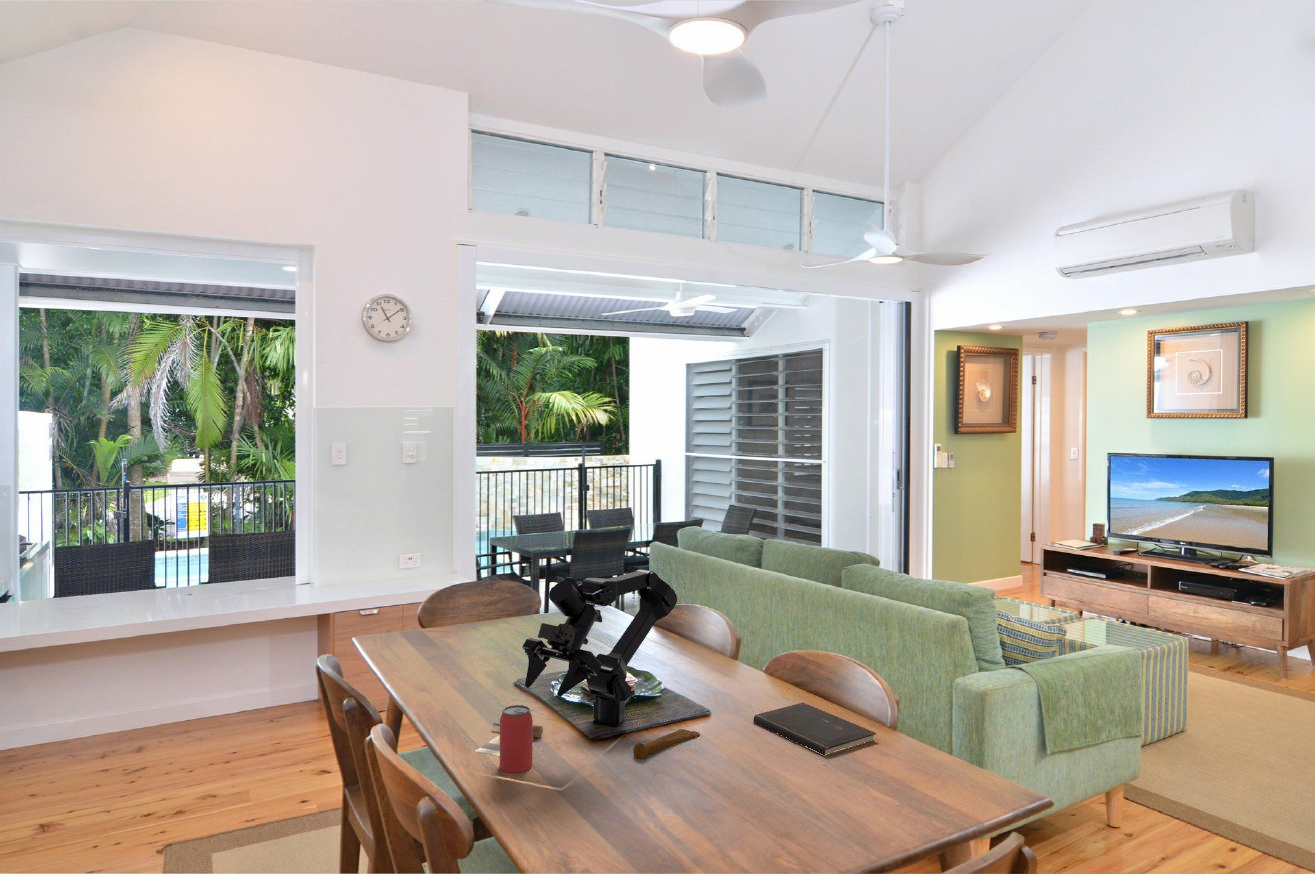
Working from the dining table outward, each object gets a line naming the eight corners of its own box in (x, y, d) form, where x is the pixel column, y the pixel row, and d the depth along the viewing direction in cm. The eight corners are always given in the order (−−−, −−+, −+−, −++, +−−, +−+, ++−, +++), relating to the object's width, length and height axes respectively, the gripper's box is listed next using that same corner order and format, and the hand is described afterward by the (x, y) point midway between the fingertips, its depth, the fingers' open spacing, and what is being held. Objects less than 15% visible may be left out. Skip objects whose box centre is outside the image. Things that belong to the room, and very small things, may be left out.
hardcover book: (803, 711, 201) (803, 702, 201) (875, 742, 182) (876, 732, 182) (753, 724, 192) (753, 715, 192) (824, 759, 173) (824, 748, 173)
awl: (542, 735, 183) (542, 724, 183) (537, 739, 180) (537, 728, 180) (496, 727, 187) (496, 716, 187) (490, 731, 185) (490, 720, 185)
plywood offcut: (542, 733, 185) (542, 731, 185) (507, 759, 171) (507, 757, 171) (512, 728, 188) (512, 726, 188) (474, 753, 174) (474, 751, 174)
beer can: (517, 778, 162) (517, 717, 162) (492, 770, 165) (492, 711, 165) (539, 766, 167) (539, 707, 167) (514, 758, 171) (514, 701, 171)
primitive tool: (682, 730, 188) (682, 715, 188) (702, 736, 185) (702, 721, 185) (630, 758, 173) (630, 742, 173) (651, 765, 169) (651, 749, 169)
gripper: (527, 601, 182) (491, 663, 174) (592, 614, 171) (556, 680, 163) (552, 629, 189) (517, 689, 180) (615, 642, 178) (582, 708, 169)
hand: (542, 691), depth 173 cm, fingers open, 9 cm apart
